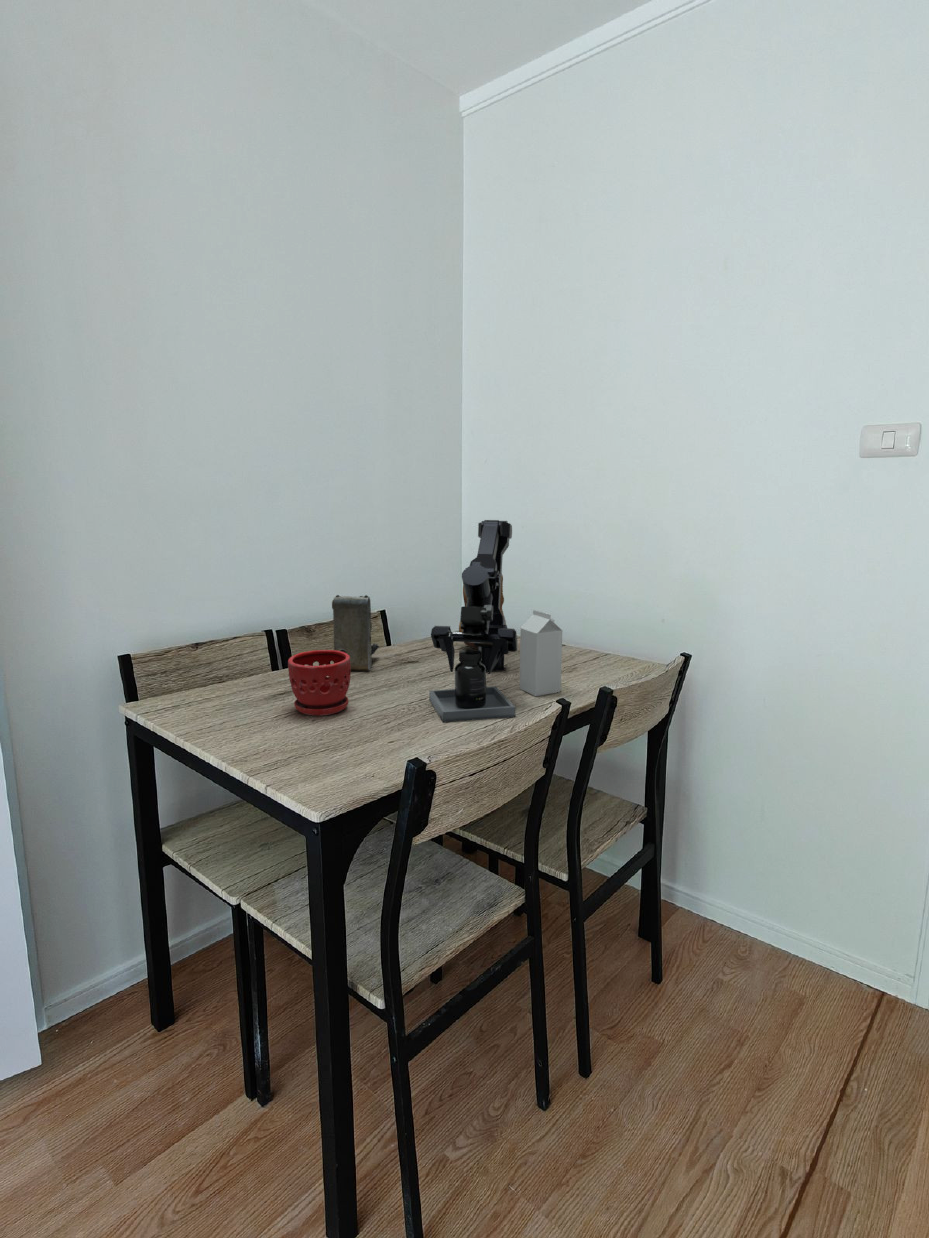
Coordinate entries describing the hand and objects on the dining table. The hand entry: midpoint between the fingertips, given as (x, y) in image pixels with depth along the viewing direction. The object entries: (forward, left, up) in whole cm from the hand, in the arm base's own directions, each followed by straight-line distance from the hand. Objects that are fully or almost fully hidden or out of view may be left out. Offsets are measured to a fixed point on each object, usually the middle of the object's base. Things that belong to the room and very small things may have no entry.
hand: (470, 671), depth 155 cm
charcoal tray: (-1, -1, -9) cm, 9 cm away
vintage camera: (+20, -44, -9) cm, 50 cm away
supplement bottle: (-1, -1, -8) cm, 8 cm away
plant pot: (+31, -7, -9) cm, 33 cm away
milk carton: (-20, -10, -9) cm, 24 cm away
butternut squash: (-17, -53, -9) cm, 56 cm away
